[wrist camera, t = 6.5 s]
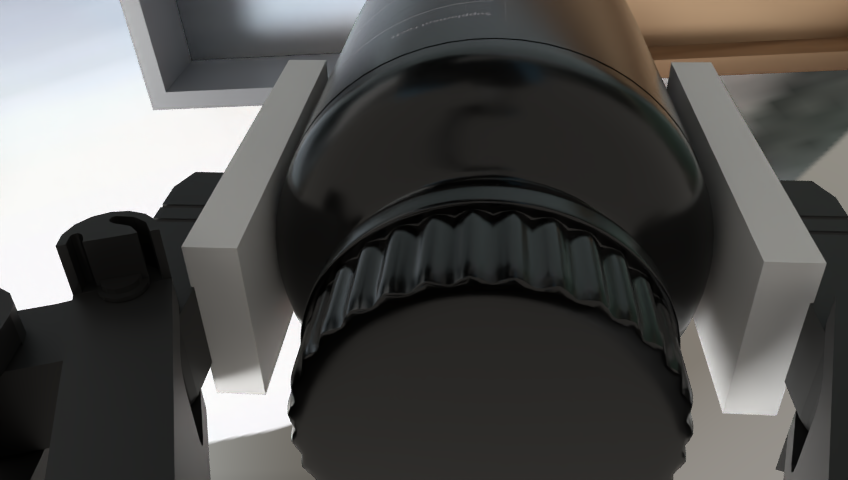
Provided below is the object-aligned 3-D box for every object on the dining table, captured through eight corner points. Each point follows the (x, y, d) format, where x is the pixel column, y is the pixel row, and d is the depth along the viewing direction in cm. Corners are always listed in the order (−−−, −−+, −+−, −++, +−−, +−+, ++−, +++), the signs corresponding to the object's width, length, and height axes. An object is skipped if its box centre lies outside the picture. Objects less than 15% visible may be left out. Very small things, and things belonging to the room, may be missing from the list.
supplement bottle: (689, 92, 19) (891, 512, 9) (461, 224, 22) (431, 658, 12) (534, -160, 16) (589, 64, 6) (294, 28, 19) (77, 388, 9)
